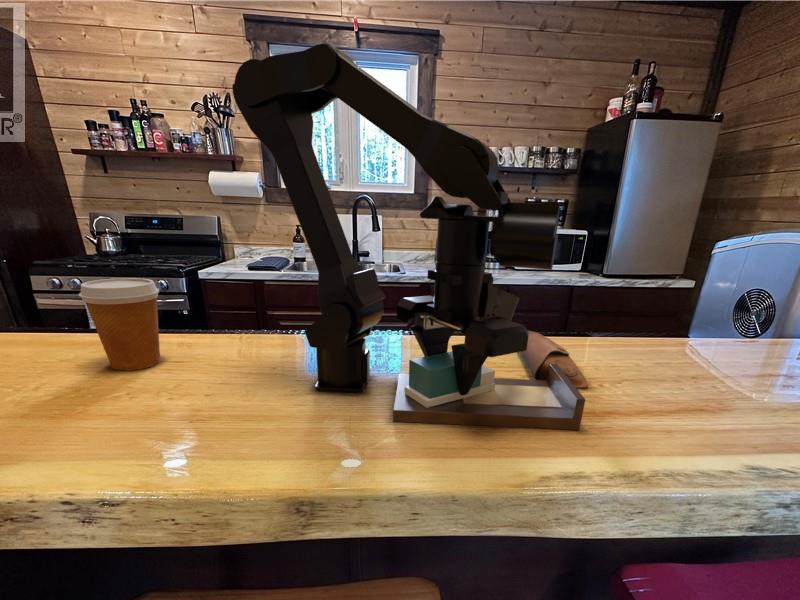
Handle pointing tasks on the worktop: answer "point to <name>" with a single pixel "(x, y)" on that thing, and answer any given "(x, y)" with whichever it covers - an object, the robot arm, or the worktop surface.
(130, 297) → the disposable coffee cup
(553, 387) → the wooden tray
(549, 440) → the worktop surface
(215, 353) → the worktop surface
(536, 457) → the worktop surface
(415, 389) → the teal block
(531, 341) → the sunglasses case
